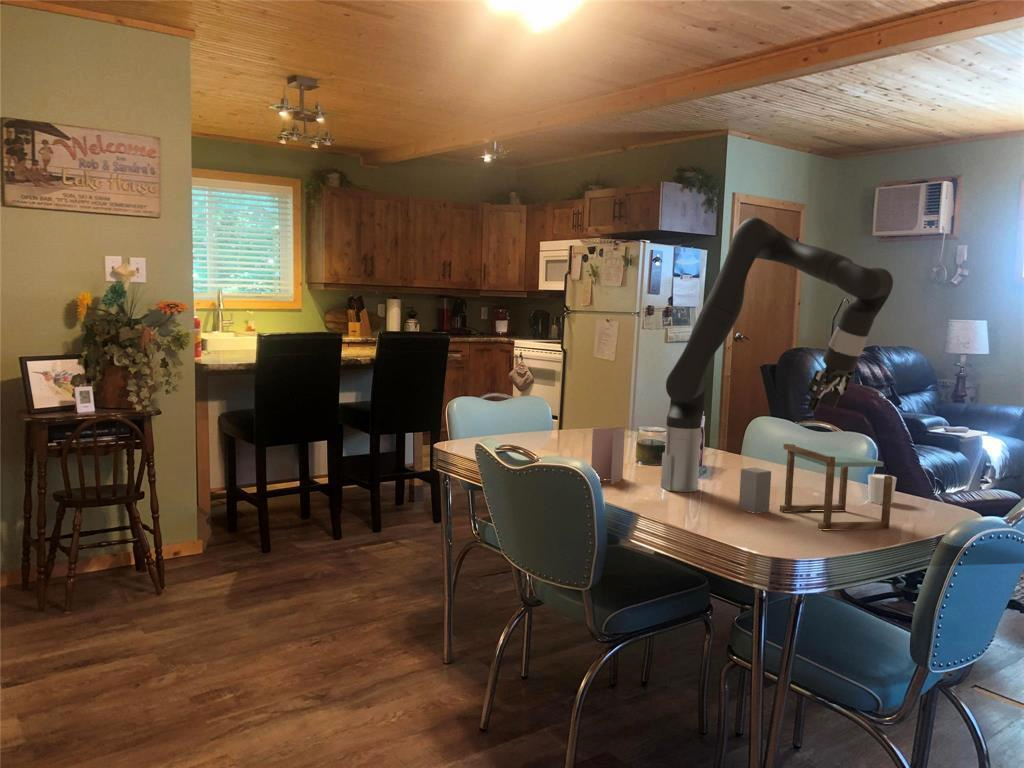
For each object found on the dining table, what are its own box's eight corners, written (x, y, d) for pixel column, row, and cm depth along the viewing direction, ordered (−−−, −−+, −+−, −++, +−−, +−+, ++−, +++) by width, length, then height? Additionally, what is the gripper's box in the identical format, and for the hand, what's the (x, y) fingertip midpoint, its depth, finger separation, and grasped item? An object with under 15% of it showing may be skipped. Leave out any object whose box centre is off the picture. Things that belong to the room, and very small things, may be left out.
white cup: (900, 505, 200) (902, 478, 199) (877, 505, 198) (879, 478, 198) (883, 499, 206) (884, 473, 206) (860, 499, 205) (862, 473, 205)
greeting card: (620, 477, 224) (622, 426, 223) (637, 482, 218) (639, 430, 217) (588, 481, 218) (590, 428, 217) (605, 486, 212) (607, 432, 211)
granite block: (754, 513, 186) (756, 472, 185) (738, 509, 190) (741, 468, 189) (768, 511, 189) (771, 471, 188) (753, 507, 193) (755, 467, 192)
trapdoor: (827, 466, 173) (827, 462, 173) (793, 455, 187) (793, 451, 187) (883, 466, 176) (883, 462, 176) (846, 455, 189) (846, 451, 189)
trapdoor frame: (820, 530, 172) (825, 456, 171) (779, 510, 189) (783, 443, 188) (888, 529, 175) (894, 456, 174) (842, 509, 192) (846, 443, 191)
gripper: (847, 340, 192) (824, 398, 198) (815, 343, 184) (791, 404, 190) (874, 353, 187) (849, 412, 193) (842, 356, 178) (817, 418, 185)
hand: (820, 408), depth 192 cm, fingers open, 8 cm apart
